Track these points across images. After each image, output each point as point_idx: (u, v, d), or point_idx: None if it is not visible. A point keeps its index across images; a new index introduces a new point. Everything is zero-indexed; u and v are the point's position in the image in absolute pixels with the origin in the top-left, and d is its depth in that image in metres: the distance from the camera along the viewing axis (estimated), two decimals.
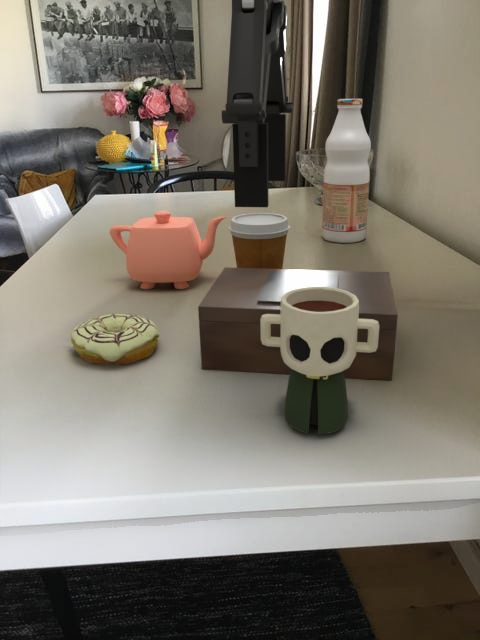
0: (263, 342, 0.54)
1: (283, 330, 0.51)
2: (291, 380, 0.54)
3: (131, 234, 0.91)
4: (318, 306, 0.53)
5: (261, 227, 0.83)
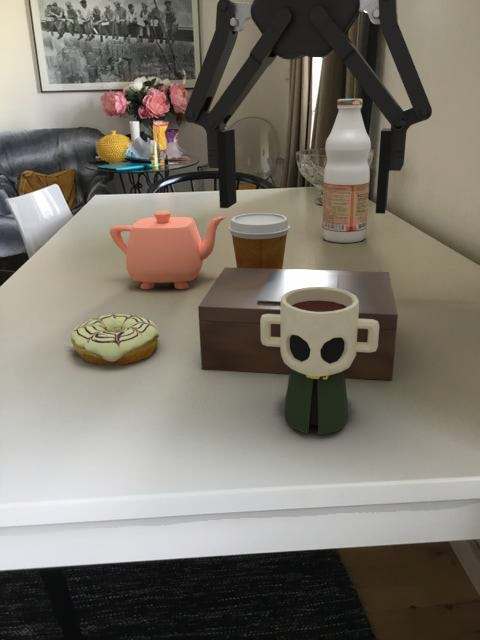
0: (263, 342, 0.54)
1: (283, 330, 0.51)
2: (291, 380, 0.54)
3: (131, 234, 0.91)
4: (318, 306, 0.53)
5: (261, 227, 0.83)
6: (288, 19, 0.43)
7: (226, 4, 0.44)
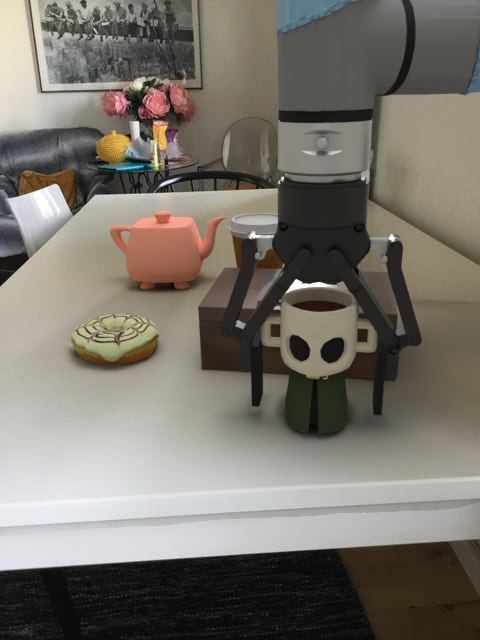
0: (263, 342, 0.54)
1: (283, 330, 0.51)
2: (291, 380, 0.54)
3: (131, 234, 0.91)
4: (318, 306, 0.53)
5: (261, 227, 0.83)
6: (309, 257, 0.48)
7: (250, 243, 0.49)
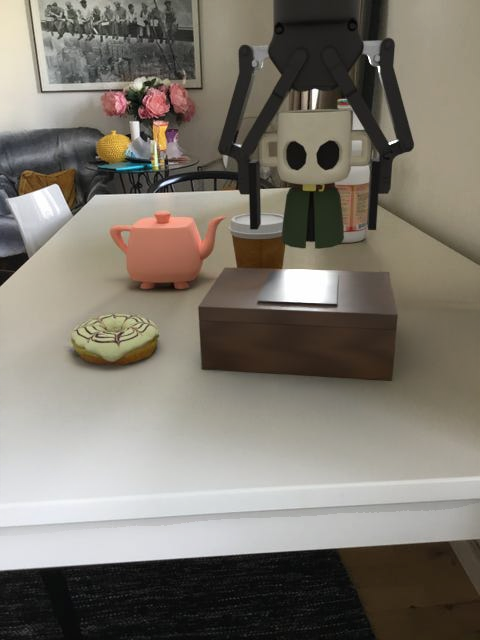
0: (260, 162, 0.55)
1: (280, 140, 0.53)
2: (288, 198, 0.55)
3: (131, 234, 0.91)
4: None
5: (261, 227, 0.83)
6: (304, 58, 0.50)
7: (247, 49, 0.51)
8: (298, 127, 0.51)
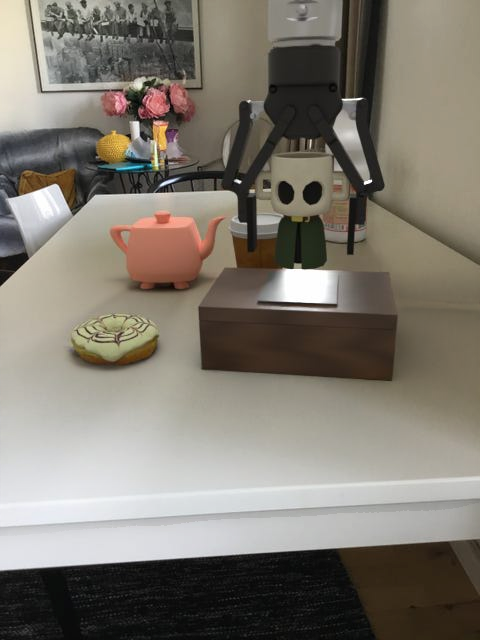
0: (257, 195, 0.65)
1: (273, 179, 0.63)
2: (279, 227, 0.65)
3: (131, 234, 0.91)
4: None
5: (261, 227, 0.83)
6: (293, 113, 0.60)
7: (246, 104, 0.61)
8: (287, 170, 0.61)
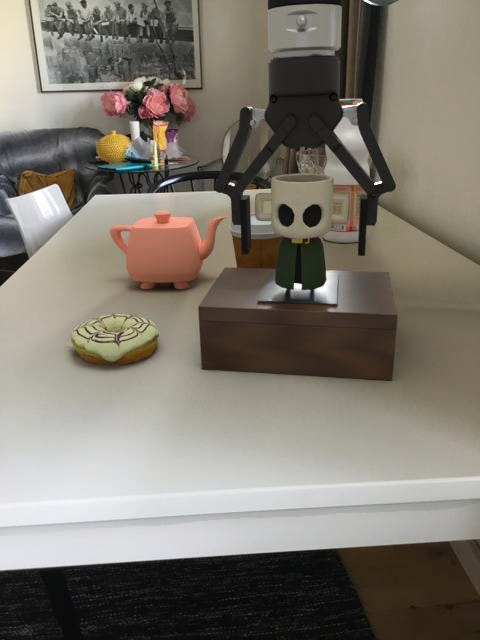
0: (257, 217, 0.66)
1: (273, 202, 0.64)
2: (280, 248, 0.66)
3: (131, 234, 0.91)
4: None
5: (261, 227, 0.83)
6: (293, 123, 0.60)
7: (247, 111, 0.61)
8: (287, 193, 0.62)
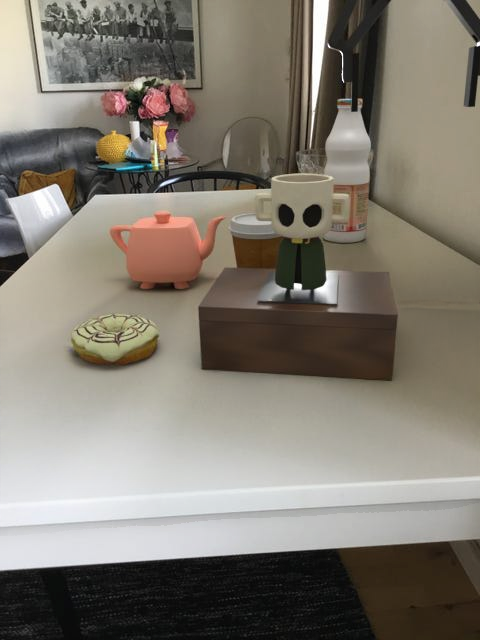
0: (257, 217, 0.66)
1: (273, 202, 0.64)
2: (280, 248, 0.66)
3: (131, 234, 0.91)
4: None
5: (261, 227, 0.83)
6: None
7: None
8: (287, 193, 0.62)
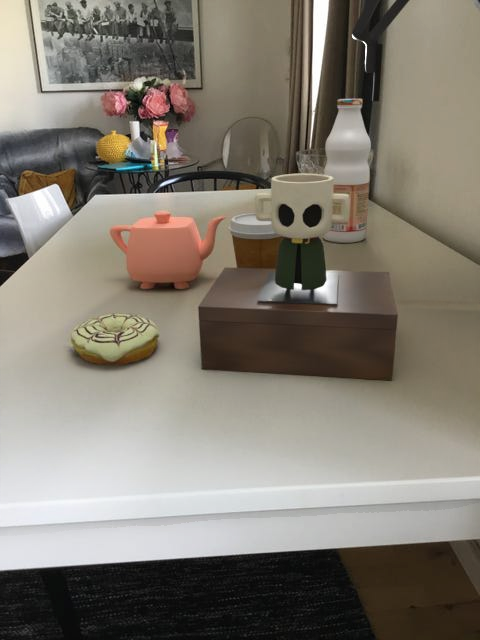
0: (257, 217, 0.66)
1: (273, 202, 0.64)
2: (280, 248, 0.66)
3: (131, 234, 0.91)
4: None
5: (261, 227, 0.83)
6: None
7: None
8: (287, 193, 0.62)
